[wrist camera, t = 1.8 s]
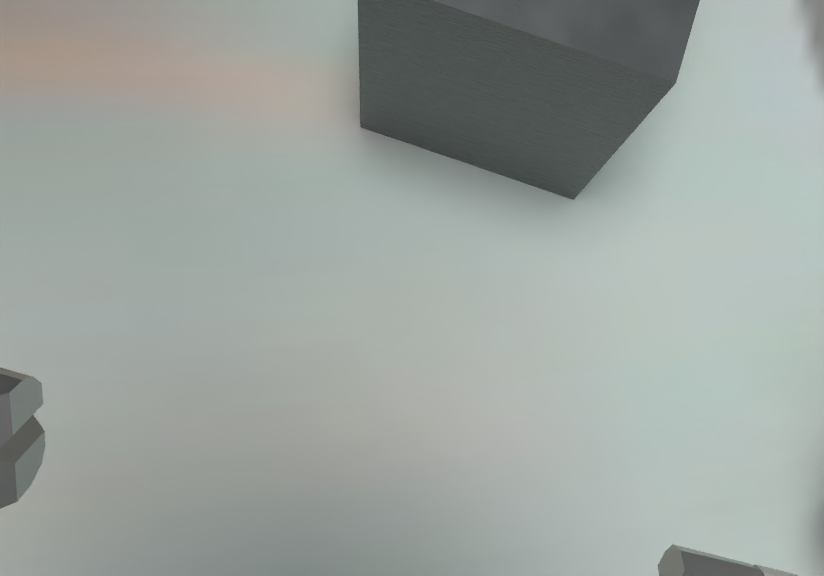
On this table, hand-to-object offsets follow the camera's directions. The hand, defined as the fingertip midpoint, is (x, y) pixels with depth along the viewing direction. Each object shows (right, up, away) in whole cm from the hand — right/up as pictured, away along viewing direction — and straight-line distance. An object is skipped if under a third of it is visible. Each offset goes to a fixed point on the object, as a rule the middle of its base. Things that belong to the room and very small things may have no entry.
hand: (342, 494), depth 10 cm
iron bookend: (+6, +15, +33) cm, 36 cm away
